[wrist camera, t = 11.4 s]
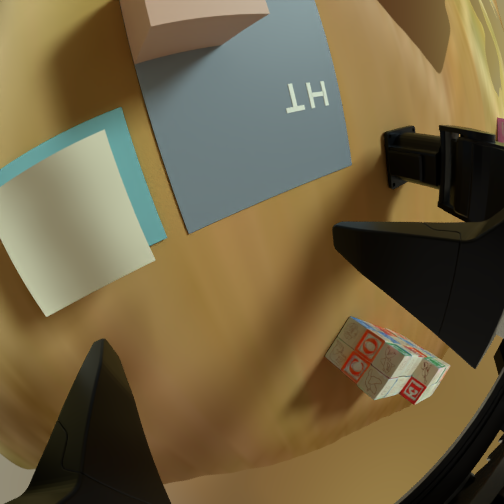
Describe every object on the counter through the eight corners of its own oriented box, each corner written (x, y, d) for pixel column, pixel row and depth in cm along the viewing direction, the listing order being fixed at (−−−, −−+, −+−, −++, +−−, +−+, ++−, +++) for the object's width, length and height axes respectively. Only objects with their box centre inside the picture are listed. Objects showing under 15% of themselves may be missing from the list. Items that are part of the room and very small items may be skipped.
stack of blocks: (322, 356, 33) (392, 416, 23) (348, 314, 32) (427, 368, 22) (383, 362, 45) (431, 396, 35) (401, 333, 45) (451, 366, 35)
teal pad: (121, 107, 14) (121, 106, 14) (166, 236, 18) (167, 237, 18) (-4, 172, 11) (-6, 173, 11) (53, 293, 15) (53, 295, 15)
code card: (302, -30, 14) (303, -30, 14) (351, 164, 24) (352, 165, 24) (114, -24, 9) (114, -25, 9) (188, 233, 19) (189, 234, 19)
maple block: (105, 137, 14) (104, 129, 9) (138, 225, 17) (155, 260, 12) (20, 182, 12) (-17, 198, 7) (59, 266, 15) (46, 317, 10)
